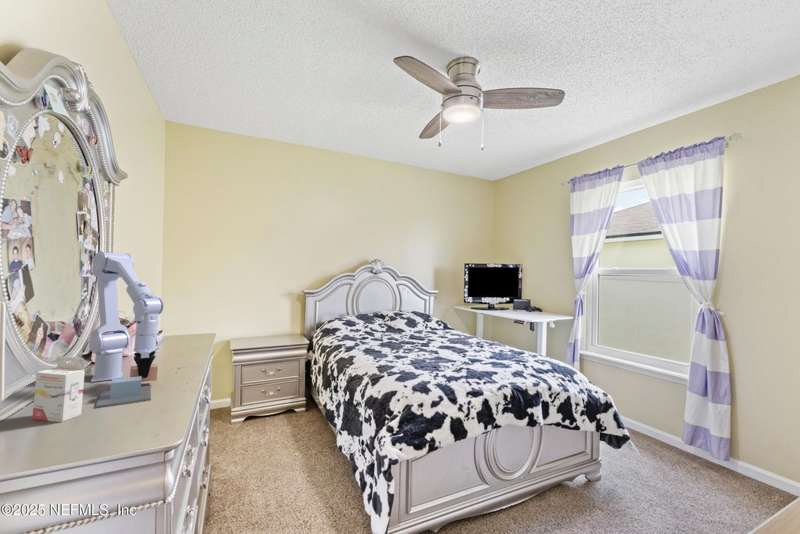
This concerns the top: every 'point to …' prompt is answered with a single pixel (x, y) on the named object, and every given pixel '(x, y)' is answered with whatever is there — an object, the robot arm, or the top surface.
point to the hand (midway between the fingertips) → (143, 375)
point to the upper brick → (151, 376)
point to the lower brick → (125, 387)
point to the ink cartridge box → (59, 391)
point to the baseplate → (123, 398)
